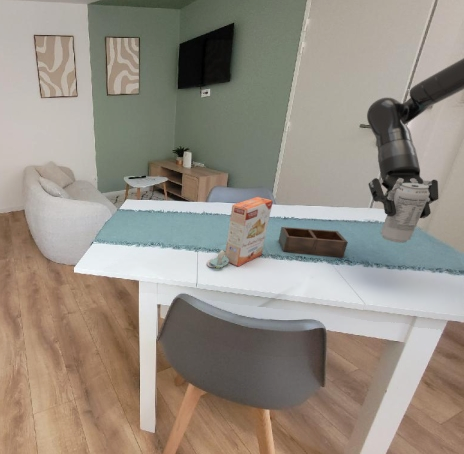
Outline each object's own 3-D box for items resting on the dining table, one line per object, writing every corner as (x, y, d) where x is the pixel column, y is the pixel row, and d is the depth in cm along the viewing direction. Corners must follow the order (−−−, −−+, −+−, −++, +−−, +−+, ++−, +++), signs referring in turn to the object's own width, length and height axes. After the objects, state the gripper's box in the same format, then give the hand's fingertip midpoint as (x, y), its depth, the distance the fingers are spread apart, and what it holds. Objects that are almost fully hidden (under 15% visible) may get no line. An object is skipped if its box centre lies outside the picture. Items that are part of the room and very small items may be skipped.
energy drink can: (410, 237, 79) (432, 184, 73) (409, 245, 75) (432, 190, 69) (380, 232, 83) (399, 180, 77) (378, 239, 79) (397, 186, 73)
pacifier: (202, 266, 100) (218, 272, 95) (203, 249, 97) (220, 255, 93) (214, 258, 104) (230, 264, 99) (215, 242, 101) (232, 248, 97)
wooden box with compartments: (333, 245, 108) (337, 231, 105) (343, 257, 100) (348, 242, 97) (278, 240, 114) (281, 226, 111) (283, 251, 105) (286, 237, 103)
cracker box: (238, 267, 97) (248, 209, 89) (223, 260, 102) (230, 204, 94) (263, 255, 104) (273, 199, 95) (247, 249, 108) (256, 195, 100)
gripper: (373, 152, 79) (382, 208, 73) (441, 152, 75) (456, 211, 69) (358, 167, 86) (365, 220, 80) (420, 168, 82) (432, 223, 76)
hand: (408, 216), depth 75 cm, fingers closed on energy drink can, 6 cm apart
